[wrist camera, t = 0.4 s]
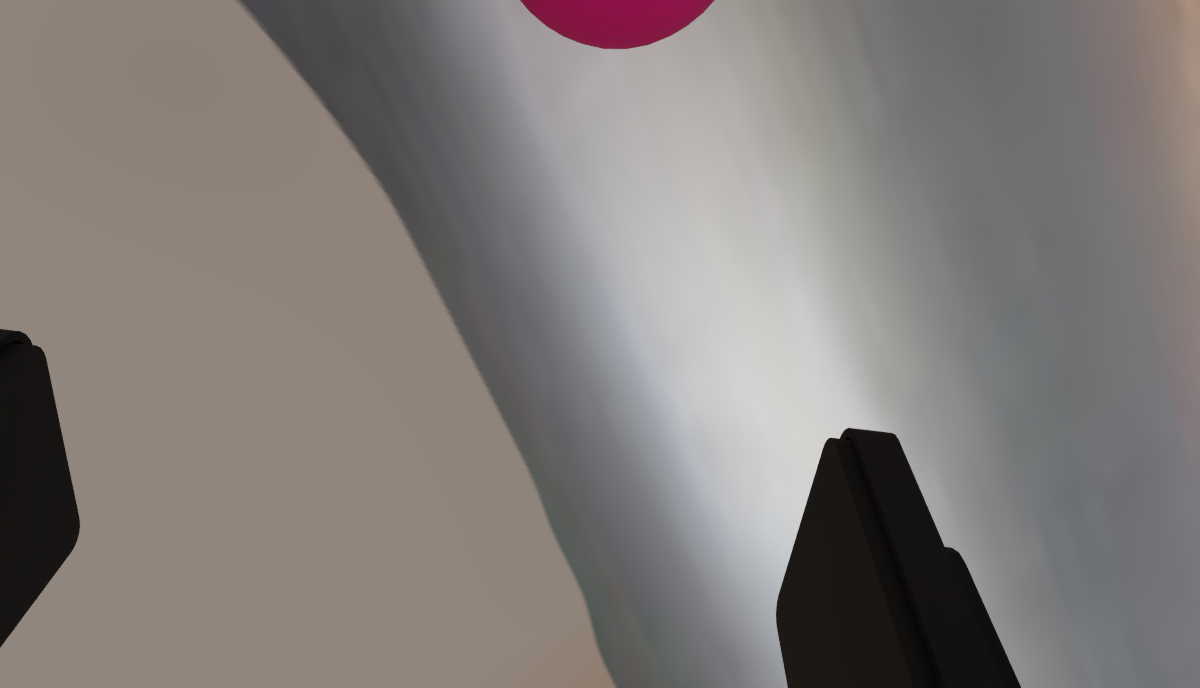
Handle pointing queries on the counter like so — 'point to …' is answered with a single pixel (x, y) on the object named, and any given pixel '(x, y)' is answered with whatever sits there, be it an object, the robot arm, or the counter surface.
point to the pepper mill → (616, 19)
